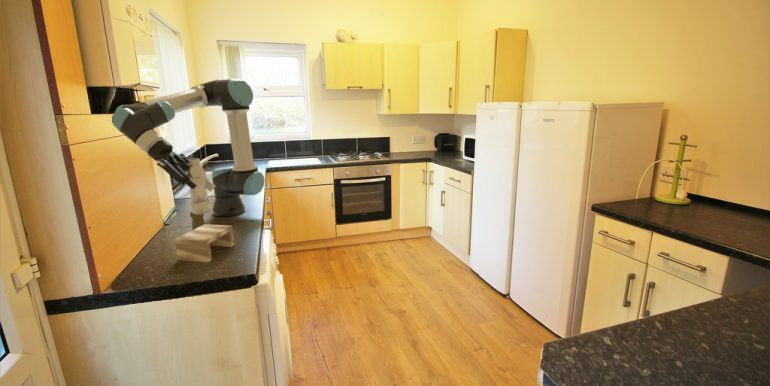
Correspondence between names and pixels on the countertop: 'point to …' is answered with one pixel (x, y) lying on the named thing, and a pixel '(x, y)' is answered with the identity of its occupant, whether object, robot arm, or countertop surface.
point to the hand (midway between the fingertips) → (208, 191)
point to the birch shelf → (203, 242)
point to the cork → (197, 220)
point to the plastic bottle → (199, 175)
